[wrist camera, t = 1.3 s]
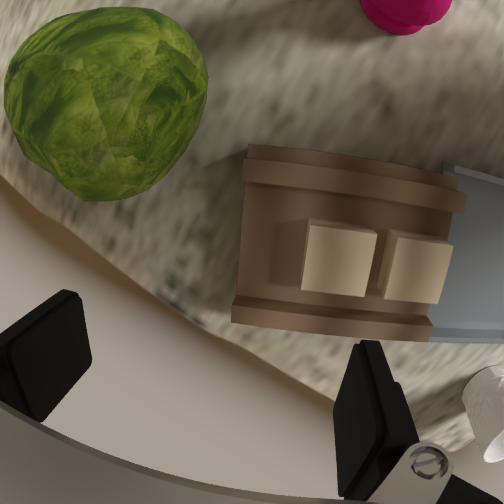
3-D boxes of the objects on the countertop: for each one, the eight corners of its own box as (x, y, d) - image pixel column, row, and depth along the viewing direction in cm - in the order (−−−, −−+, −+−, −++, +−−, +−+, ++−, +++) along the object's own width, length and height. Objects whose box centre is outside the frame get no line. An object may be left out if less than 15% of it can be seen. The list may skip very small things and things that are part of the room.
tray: (551, 197, 22) (564, 201, 20) (513, 332, 27) (522, 343, 25) (442, 163, 23) (454, 164, 21) (405, 327, 29) (412, 341, 26)
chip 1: (369, 225, 22) (377, 234, 20) (358, 282, 24) (364, 297, 21) (308, 217, 23) (310, 225, 20) (300, 276, 24) (300, 289, 22)
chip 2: (440, 236, 22) (453, 246, 19) (426, 290, 23) (437, 304, 21) (388, 228, 22) (398, 237, 20) (376, 285, 24) (383, 299, 21)
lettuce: (87, 30, 27) (11, -15, 15) (253, 74, 23) (185, -29, 10) (33, 133, 30) (-54, 115, 17) (170, 223, 26) (45, 225, 13)
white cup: (478, 358, 29) (514, 413, 19) (516, 363, 28) (552, 411, 19) (446, 407, 31) (470, 465, 22) (486, 409, 31) (511, 459, 21)
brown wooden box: (438, 173, 24) (469, 180, 18) (405, 318, 28) (424, 352, 23) (255, 145, 25) (244, 143, 20) (242, 300, 30) (230, 333, 24)
